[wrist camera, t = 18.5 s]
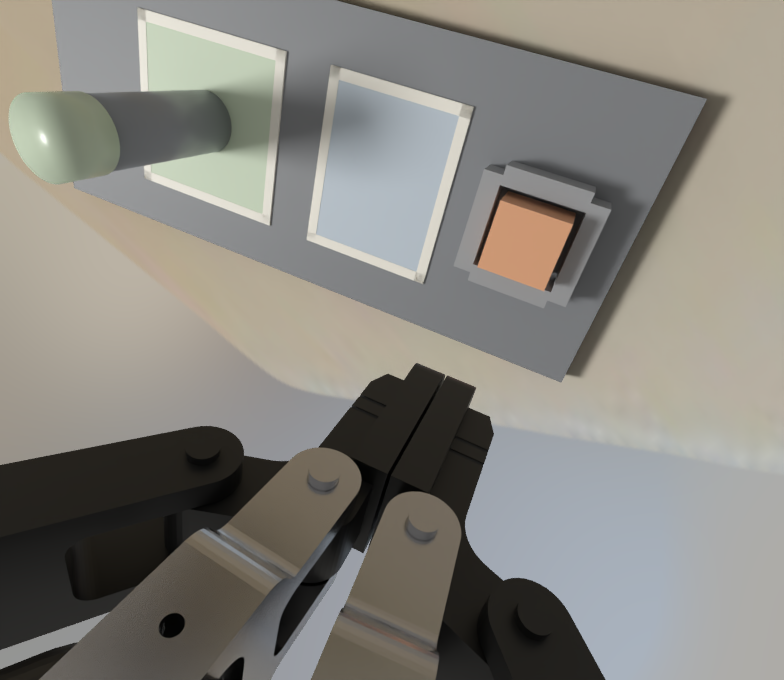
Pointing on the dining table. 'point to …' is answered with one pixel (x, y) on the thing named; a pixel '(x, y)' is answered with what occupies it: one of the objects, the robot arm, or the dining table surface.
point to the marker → (114, 130)
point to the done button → (526, 240)
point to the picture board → (388, 156)
